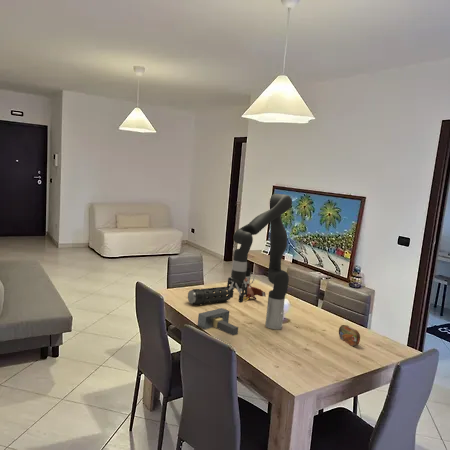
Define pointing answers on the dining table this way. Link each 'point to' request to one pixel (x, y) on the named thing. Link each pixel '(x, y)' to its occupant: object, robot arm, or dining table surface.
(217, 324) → the plug rod
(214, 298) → the muzzle brake
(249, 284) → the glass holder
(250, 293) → the decorative bird
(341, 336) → the tin
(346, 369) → the dining table surface
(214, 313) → the block
